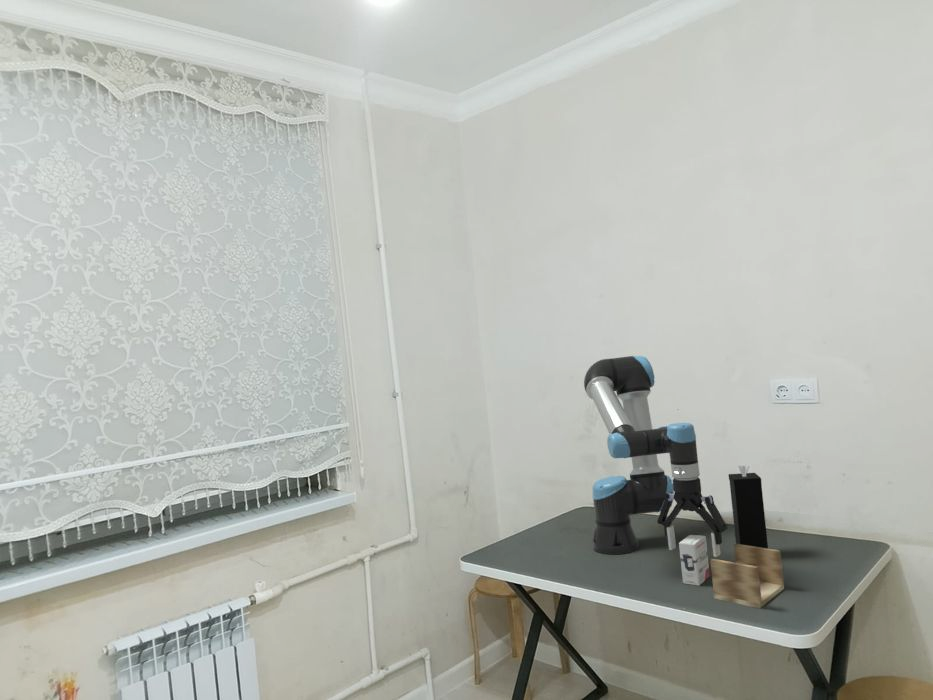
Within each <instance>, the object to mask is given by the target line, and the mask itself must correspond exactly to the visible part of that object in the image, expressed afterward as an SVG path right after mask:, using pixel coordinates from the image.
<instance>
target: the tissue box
mask: <svg viewBox="0 0 933 700" xmlns="http://www.w3.org/2000/svg"><path fill="white" fill-rule="evenodd" d="M749 468H750V466H749V465H748V466H747V465H738V469H739V471H740V473H729V474H728V480H729V489H730V490H729V491H730V498H731V507H732V517H733V518H732V519H733V526H734V527H733V528H734V537H735V544H741V545H748V546H754V547H761V548H767V549H769V545H768V537H767V536H768V535H767V534H768V533H767V525H766V515H765V506H764V498H763V497H764V496H763V487H762V485H763V484H762V478H761V476H760V475H758V474H757V473H756V472H748V471H749Z"/></svg>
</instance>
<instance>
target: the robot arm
mask: <svg viewBox="0 0 933 700" xmlns="http://www.w3.org/2000/svg"><path fill="white" fill-rule="evenodd" d="M655 383H656V382H655V373H654V369H653V367H652V363H651V362H650V361H649V360H648V358H647V357H646V356H643V355H629V356H622V357H614V358H613V357H612V358H604V359H600V360H598V361H596V362H594V363H593V364H592V365H590V366H589V368H588V370H587V371H586V373H585V376H584V380H583V387H584V390H585V392H586V395H587V396H588V397H589V399H591V400H593V402H594V404H595V406H596V409H597V411H598V413H599V415H600V417H601V419H602V421H603V423H604V425H605V428H606V429H607V431H608V433H609V434H608V436H607V439H606V440H607V441H606V442H607V443H606V444H607V449H608V453H609V455H610V457H612V458H613V459H628V458H631V463H632V470H631V471H630V473H629V479H627V478H626V476H624V475H623V476H622V475H616V476H615V475H612V476H608V477H605V478H602V479H601V478H600V479H598V480H597V481H596V482H594V484H593V485H592V499H593V508H594V509H593V510H594V517H595V519H594V520H595V529H594V534H593V539H592V549H593V550H594V551H595V552H597V553H601V554H605V555H622V554H623V555H624V554H628V553H632V552H635V551H637V550H638V549H639V539H638V537H637V536H636V532H635V530H634V528H633V526H632V522H631V516H633V515H640V514H651V513H659V516H658V518H657V524H659V525H662V526H663V529H664V536H665V538H667V544H668V550H669V551H672V550H674V549H676V548H677V545H676V535H675V526H674V525H673V522H674V521H675V519H676V518H677V516H678V515H679V514H680V512H681V511H689V512H695V513H696V514H698V515H699V516H700V518H701V519H702V520H703V521H704V522H705V523H706V524H707V526H708V528H710V529H711V531H712V532H711V533H710V535H711V538H710V539H711V545H712V555H713V557H714V558H717V557H719V556H720V555H721V554H722V553H721V544H723V538H722V537H723V536H722V533H723V532H724V531H726V530H728V526H727V523H726V521H725V520H724V518H723V517H722V514H721V513H720V511H719V509H718V507H717V506H716V504H715V501H714V497H713V495H707V496H703V495H702V484H701V478H700V468H699V467H700V465H699V459H698V450H697V449H698V448H697V439H696V438H697V435H696V432H695V427H694V425H693V424H692V423H690V422H677V423H670V424H669V425H667V426H659V427H657V428H653V426H652V419H651V413H650V407H649V406H650V405H649V401H648V397H649V395H650V394H651V392H652V391H651V388H653V387H654V386H655ZM620 400H621V401H622V403H621V401H620ZM660 454H663V455H664V454H669V460H670V467H671V476H672V477H673V479H672V478H671V477H670V475H667V474H666V473H665V470H664V469H663V468H662V467H660V466H659V460H658V459H659V458H658V455H660ZM674 500H675V501H674ZM673 502H676V504H675V506H674V507H673V509H672V510H671V512H670V514H669V511H670V508H671V507H672V506H673ZM705 506H706V507H705ZM706 509H707V510H706ZM668 514H669V515H668Z"/></svg>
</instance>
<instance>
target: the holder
mask: <svg viewBox="0 0 933 700" xmlns="http://www.w3.org/2000/svg"><path fill="white" fill-rule="evenodd" d="M733 545H734V557H735V562H733V561H728V560H722V559H717V558H711V559H710V560H709V561H710V569H711V579H712V588H713V589H712V590H713V598H714V599H716V600H718V601H719V600H720V601H724V602H725V601H726V602H729V603H733V604H738V605H742V606H748V607H752V608H757V609H762V608H763V607H764V606H765V605H767V603H769V602H770V601H771V600H772V599H773V598H775V597H776V596H777V595H778V594H780V593H781V592H782V591H783V590H785V583H784V572H783V564H782V552H781V550H779V549H772V548H768V549H767V548H761V547H754V546H748V545H741V544H736V543H735V544H733Z"/></svg>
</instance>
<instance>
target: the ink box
mask: <svg viewBox="0 0 933 700" xmlns="http://www.w3.org/2000/svg"><path fill="white" fill-rule="evenodd" d="M678 547H679V549H678V550H679V557H680V566H681V567H680V569H681V576H682V577H681V578H682V583H683V584H684V585H685V584H687V585H693V586H700V585H702V584H703V583H704V582H705V581H706V580H707V579H708V578H709V577H710V576H711V575H710V568H709V567H710V566H709V557H708V556H709V555H708V546H707V536H705V535H695V534H689V535H687V536H686V537H685V538H684V539H682V540H681V541H680V542H678Z"/></svg>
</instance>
